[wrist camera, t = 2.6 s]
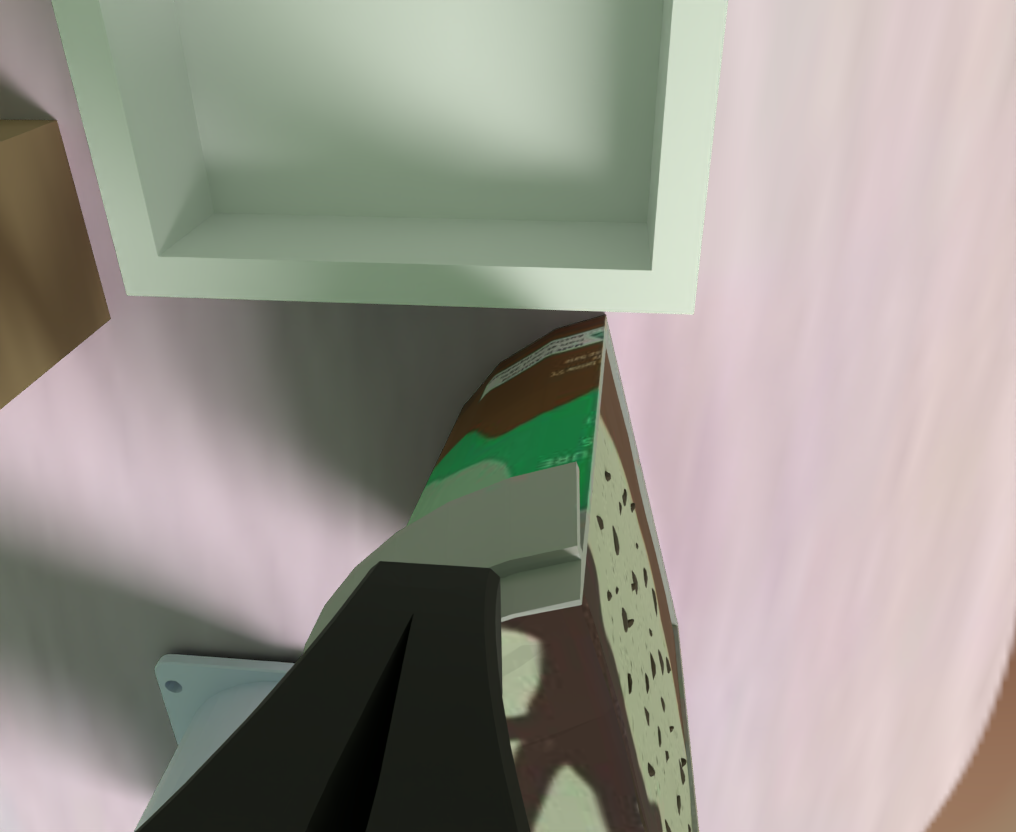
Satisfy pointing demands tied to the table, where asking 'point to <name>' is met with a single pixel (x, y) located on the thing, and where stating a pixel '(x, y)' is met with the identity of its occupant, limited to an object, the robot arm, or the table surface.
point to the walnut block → (41, 257)
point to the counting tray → (403, 148)
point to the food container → (565, 586)
